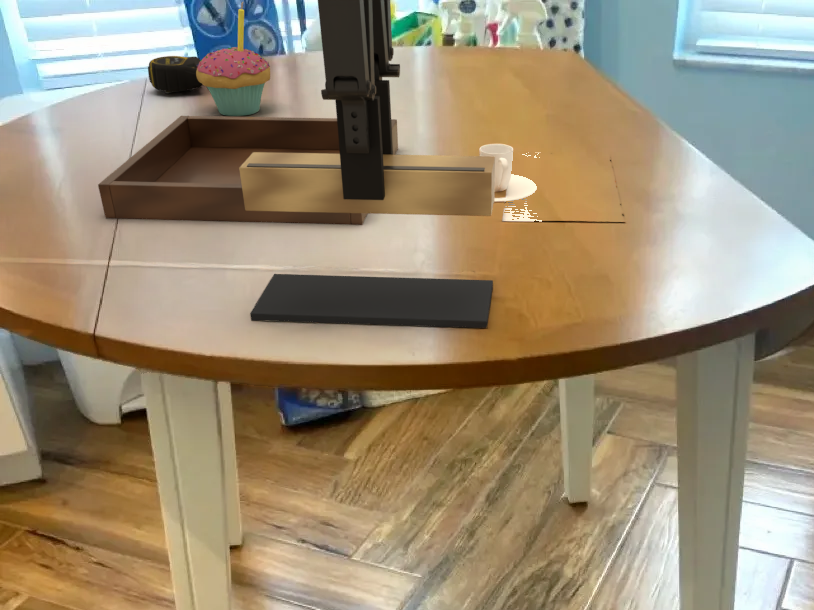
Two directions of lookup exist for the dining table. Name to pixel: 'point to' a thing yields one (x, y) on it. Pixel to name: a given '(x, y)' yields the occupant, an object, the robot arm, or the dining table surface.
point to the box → (216, 169)
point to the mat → (375, 301)
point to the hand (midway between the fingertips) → (369, 186)
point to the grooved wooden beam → (403, 179)
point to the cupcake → (235, 76)
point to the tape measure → (174, 73)
